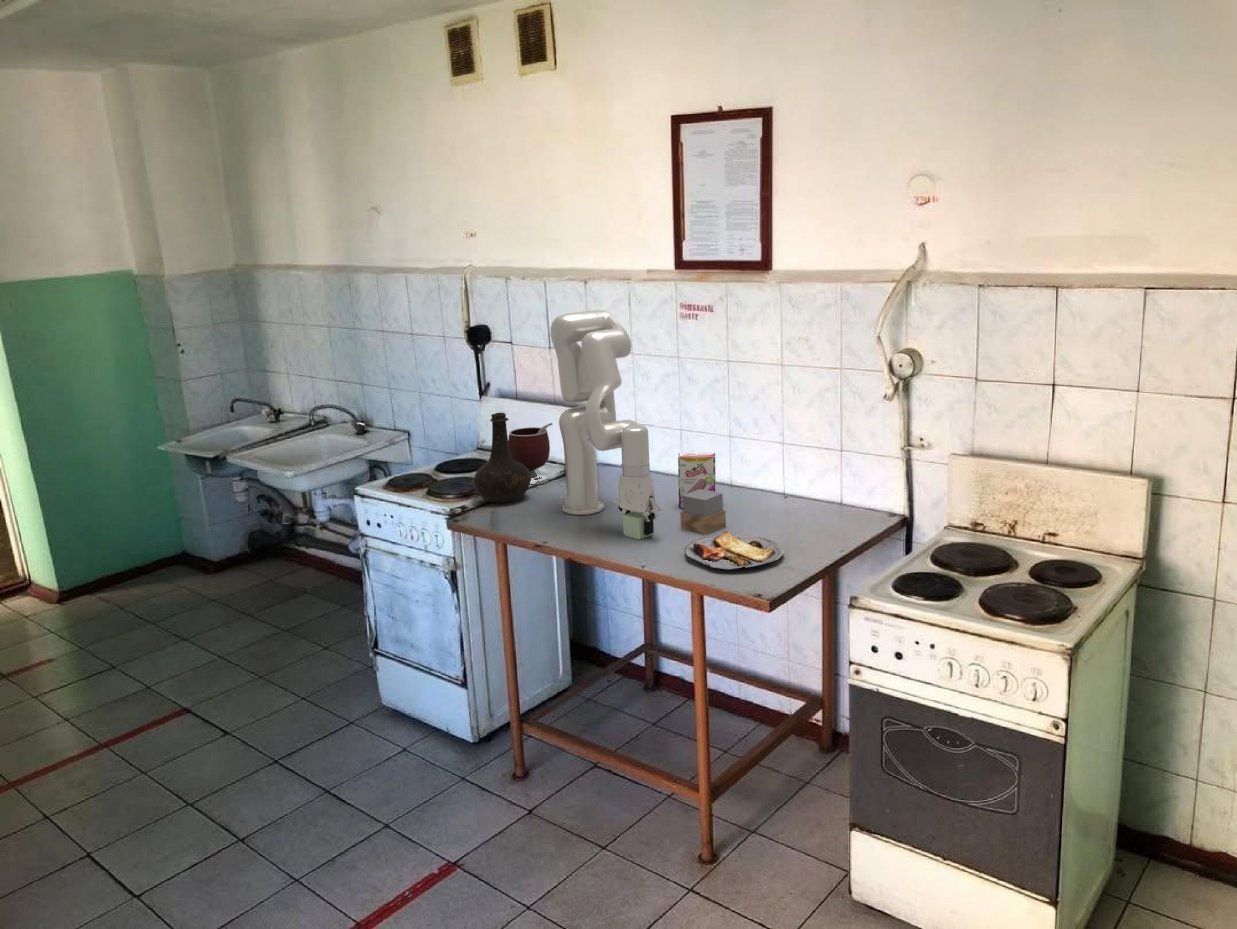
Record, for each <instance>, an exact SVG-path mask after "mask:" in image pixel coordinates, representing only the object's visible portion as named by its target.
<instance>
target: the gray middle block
mask: <svg viewBox="0 0 1237 929" xmlns="http://www.w3.org/2000/svg"><path fill="white" fill-rule="evenodd" d="M682 499H683V508H682V512H683V513H687V514H692V515H696V516H701V517H708V516H710V515H713V514H715V513H717V512H720V511H722V510H724V502H723V501H724V500H723V492H719V491H718V492H717V491H716V492H713V491H708V490H703V489H698V490H696V491H693V492H690V493H688V494H685V495H683V496H682Z"/></svg>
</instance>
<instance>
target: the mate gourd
mask: <svg viewBox="0 0 1237 929" xmlns="http://www.w3.org/2000/svg"><path fill="white" fill-rule="evenodd" d="M553 424H554V423H553V422H549V423H548V424H545V425H544V426H542V427H538V426H537V427H535V426H534V427H533V426H532V427H531V426H530V427H529V426H528V427H521V428H515V429H512V430H509V432H508V443H509V448H510V453H511V456H512V458H513V460H515V461H517V462H520V463H522V464H523V465H524V466H526V468H527V469H528V470H529V473H530V477H531V478H535V477H537V474H538V473H537V472H536V470H538V469H539V468H542V467H543V466H545V465H546V463H547V461H548V460H549V459H550V452H551V451H550V450H551V449H550V448H551V446H550V437H549V433H548V430H547V428H548V427H550V426H553ZM541 478H542V477H541ZM541 478H540V477H539V478H535V479H534V480H538V479H541ZM549 481H550V477H549V478H547V479H545V480H542V481H537V482H536V483H535V484H537V485H542V484H545V483H548V482H549Z"/></svg>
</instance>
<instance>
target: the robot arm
mask: <svg viewBox="0 0 1237 929" xmlns="http://www.w3.org/2000/svg"><path fill="white" fill-rule="evenodd" d="M550 338H551V343H552V345H553V348H554V352H555V354H556V355H555V356H556V357H557V358H556V359H557V366H558V375H559V377H558V378H559V385H560V393H561V397H562V399H563V401H565V402H567V403H569V404H576V403H584V402H586V405H582V406H576V407H571V408H568V409H566V410H564V411H563V412H561V414H560V416H559V418H558V426H559V430H560V434H561V439H562V444H563V452H564V454H563V455H564V466H565V467H564V469H565V483H566V486H565V487H566V490H564V491H563V492H562V494H561V495H560V496H559V498H560V500H564V502H565V503H564V504H562V511H563V512H564V513H565V514H568V515H577V516H579V515H580V516H583V515H586V516H587V515H591V514H596V513H599V512H601V511H603V510H604V509H605V504H604V502H602V501H600V500H599V487H598V468H597V452H596V450H598V451H601V452H605V451H612V450H617V449H621V450H620V451H621V464H620V468H621V469H622V473H621V474H620V475H619V481H618V482H619V483H618V496H617V497H616V498H615V499H614V502H615V504H616V505H617V506H618V509H619V511H620V515H621V516H622V517H623V515H625V514H627V513H630V512H638V513H643V515H644V517H645V520H646V521H645V522H644V534H645V535H649V534H652V533H653V532H654V533H655V528H654V526H655V524H654V525H653V522H654V520H655V519H656V518H657V517H658V515H659V514H660V512H662V508H661V507H660V506H659V504H658V503H657V501H656V498H655V497H656V496H655V488H654V483H653V478H652V475H651V468H650V448H649V447H650V446H649V445H650V443H649V442H650V441H649V440H650V439H649V430H648V428H647V426H645V425H642V424H638V423H637V422H636V421H634V420H632V419H623V420H617V413H616V403H615V402H616V401H615V400H616V399H615V392H614V391H616V390H617V389H618V388H620V386H622V378H621V374H620V370H619V366H618V362H617V360H616V359H622V358H626V357H628V356H629V355H630V354H631V351H632V341H631V338H630V336H629V333H628V332H627V330H626V329H625V328H624V326H622V324H621V323H620V322H619V321H618V320H617V319H615V317H613V315H612V314H610V313H609V312H608V311H606V310H601V309H595V310H586V311H575V312H574V311H573V312H569V313H563V314H560V315H558V316H556V317H555V318H554V319H553V321H552V322H551V326H550ZM579 342H581V345H580V344H579ZM589 439H590V441H589ZM647 512H649V516H648V513H647ZM652 535H653V534H652Z"/></svg>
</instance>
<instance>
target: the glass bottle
mask: <svg viewBox="0 0 1237 929" xmlns="http://www.w3.org/2000/svg"><path fill="white" fill-rule="evenodd" d="M506 415H507V414H506V413H505V412H496V413H492V414H490V416H491V419H489V420H490V423H491V426H492V433H491V434H492V435H491V437H492V439H491V450H490V456H489V458H488V461H487V462H486V463H484V464H482V465H481V466H480V467H479V468H478V469H477V471H476V473H475V474H474V477H473V485H474V489H475V490H476V493H477V494H478V495H479V496H480V497H481V498H482V499H483V500H484V501H485V500H486V501H488V502H490V503H497V504H498V503H499V504H500V503H510V502H515V501H518V500H520V499H521V498H522V497H523V496H524V495H525V494H526V492H527V491H528V489H529V488H530V486H531V485H530V481H531V477H530V473H529V470H528V469H527V468H526V466H524V465H523V464H522V463H520V462H517V461H515V460H513V458H512V456H511V453H510V448H509V443H508V440H509V435H508V429H507V421H509V417H506Z"/></svg>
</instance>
